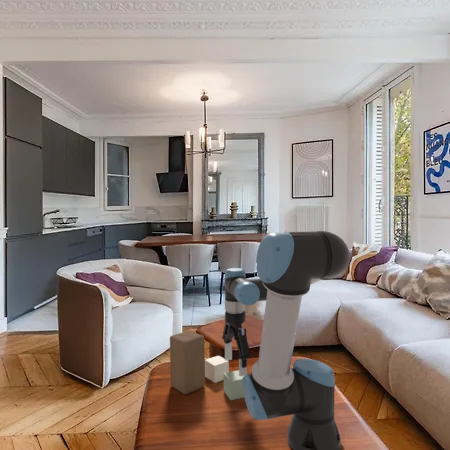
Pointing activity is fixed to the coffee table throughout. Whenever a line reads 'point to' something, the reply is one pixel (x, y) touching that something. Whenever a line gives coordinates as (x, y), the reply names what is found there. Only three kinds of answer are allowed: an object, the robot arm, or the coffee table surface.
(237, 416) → the coffee table surface
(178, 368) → the wooden block
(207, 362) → the cream cube
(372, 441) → the coffee table surface
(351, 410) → the coffee table surface
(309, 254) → the robot arm
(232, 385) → the sage cube
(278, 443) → the coffee table surface
